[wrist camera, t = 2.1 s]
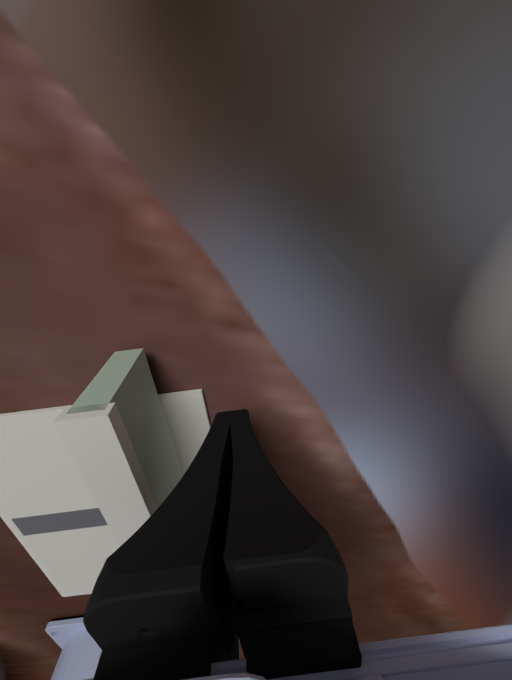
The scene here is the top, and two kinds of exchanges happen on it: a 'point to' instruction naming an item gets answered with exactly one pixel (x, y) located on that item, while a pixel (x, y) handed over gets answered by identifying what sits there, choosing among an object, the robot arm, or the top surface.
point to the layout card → (72, 489)
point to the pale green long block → (122, 443)
